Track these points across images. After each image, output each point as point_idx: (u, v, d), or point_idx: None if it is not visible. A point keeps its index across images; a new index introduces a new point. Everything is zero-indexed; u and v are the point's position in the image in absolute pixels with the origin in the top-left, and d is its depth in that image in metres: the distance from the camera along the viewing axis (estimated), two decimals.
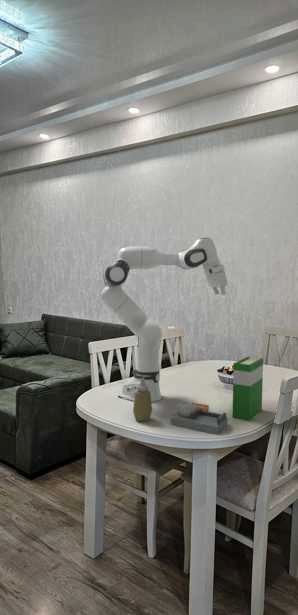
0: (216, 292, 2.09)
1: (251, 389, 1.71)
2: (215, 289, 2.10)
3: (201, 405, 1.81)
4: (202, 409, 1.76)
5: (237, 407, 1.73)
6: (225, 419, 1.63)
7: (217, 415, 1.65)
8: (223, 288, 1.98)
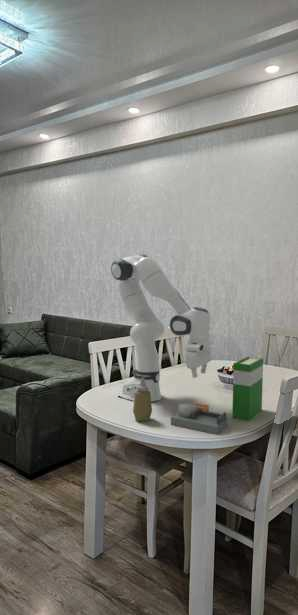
0: (201, 370, 1.82)
1: (251, 389, 1.71)
2: (203, 367, 1.83)
3: (201, 405, 1.81)
4: (202, 409, 1.76)
5: (237, 407, 1.73)
6: (225, 419, 1.63)
7: (217, 415, 1.65)
8: (193, 370, 1.73)
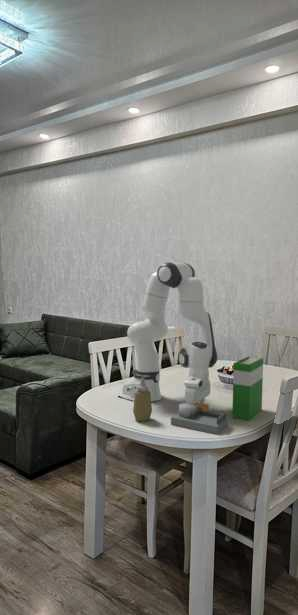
0: None
1: (251, 390, 1.71)
2: (201, 401, 1.83)
3: (201, 404, 1.80)
4: (202, 408, 1.76)
5: (237, 407, 1.73)
6: (225, 419, 1.63)
7: (217, 415, 1.65)
8: None
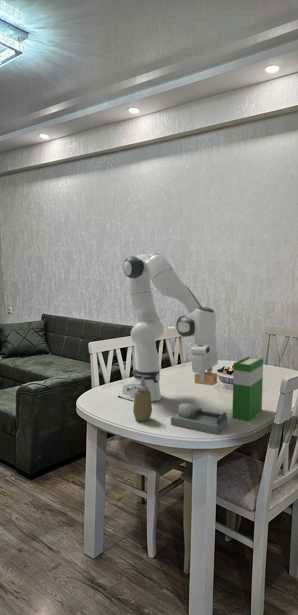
0: None
1: (251, 389, 1.71)
2: (208, 371, 1.71)
3: (209, 374, 1.69)
4: (210, 377, 1.64)
5: (237, 407, 1.73)
6: (225, 419, 1.63)
7: (217, 415, 1.65)
8: (201, 373, 1.64)
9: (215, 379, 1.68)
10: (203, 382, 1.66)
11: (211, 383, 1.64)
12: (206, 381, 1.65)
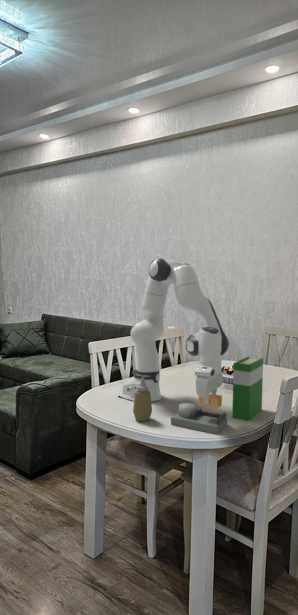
0: None
1: (251, 389, 1.71)
2: (213, 393, 1.66)
3: (213, 396, 1.64)
4: (215, 400, 1.59)
5: (237, 407, 1.73)
6: (225, 419, 1.63)
7: (217, 415, 1.65)
8: (206, 396, 1.58)
9: (220, 402, 1.62)
10: (207, 405, 1.61)
11: (216, 406, 1.59)
12: (210, 404, 1.60)
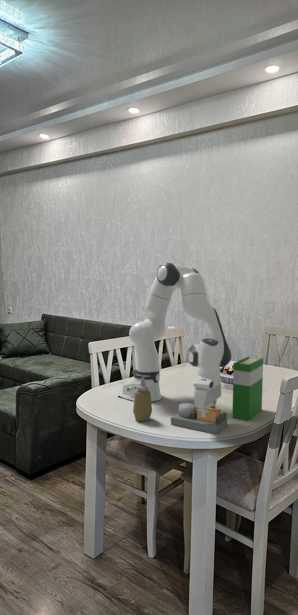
0: (211, 407, 1.67)
1: (251, 389, 1.71)
2: (213, 403, 1.68)
3: (212, 410, 1.64)
4: (213, 414, 1.60)
5: (237, 407, 1.73)
6: (225, 419, 1.63)
7: None
8: (203, 409, 1.58)
9: (218, 416, 1.63)
10: (205, 419, 1.61)
11: (214, 420, 1.60)
12: (209, 418, 1.61)
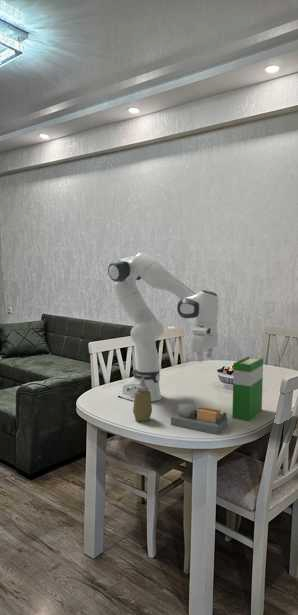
0: (207, 355, 1.80)
1: (251, 389, 1.71)
2: (209, 351, 1.81)
3: (212, 410, 1.64)
4: (213, 414, 1.60)
5: (237, 407, 1.73)
6: (225, 419, 1.63)
7: None
8: (200, 354, 1.70)
9: (218, 416, 1.63)
10: (205, 419, 1.61)
11: (214, 420, 1.60)
12: (209, 418, 1.61)
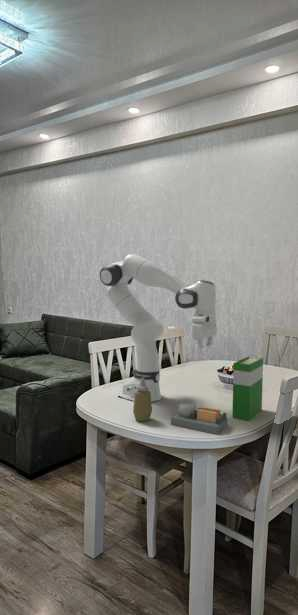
0: (207, 343, 1.84)
1: (251, 389, 1.71)
2: (209, 340, 1.85)
3: (212, 410, 1.64)
4: (213, 414, 1.60)
5: (237, 407, 1.73)
6: (225, 419, 1.63)
7: None
8: (200, 342, 1.75)
9: (218, 416, 1.63)
10: (205, 419, 1.61)
11: (214, 420, 1.60)
12: (209, 418, 1.61)
